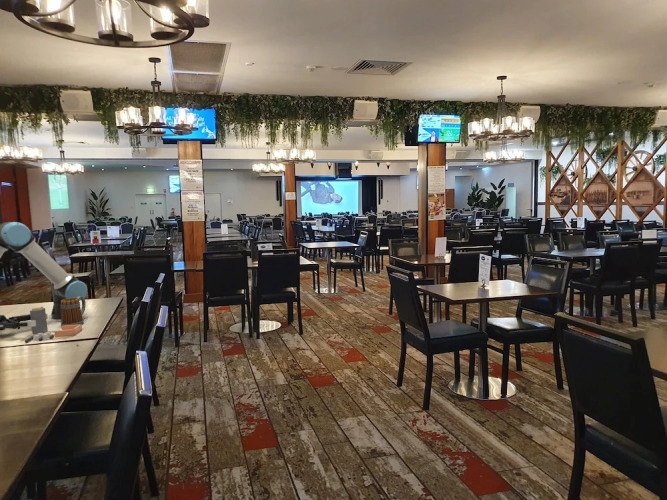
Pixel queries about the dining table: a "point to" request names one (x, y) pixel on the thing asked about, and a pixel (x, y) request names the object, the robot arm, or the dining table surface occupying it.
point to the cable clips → (45, 336)
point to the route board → (48, 338)
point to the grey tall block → (39, 320)
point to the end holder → (68, 330)
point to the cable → (39, 338)
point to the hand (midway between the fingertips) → (41, 319)
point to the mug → (72, 311)
